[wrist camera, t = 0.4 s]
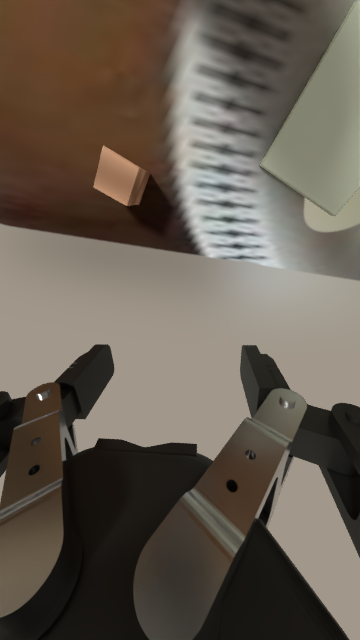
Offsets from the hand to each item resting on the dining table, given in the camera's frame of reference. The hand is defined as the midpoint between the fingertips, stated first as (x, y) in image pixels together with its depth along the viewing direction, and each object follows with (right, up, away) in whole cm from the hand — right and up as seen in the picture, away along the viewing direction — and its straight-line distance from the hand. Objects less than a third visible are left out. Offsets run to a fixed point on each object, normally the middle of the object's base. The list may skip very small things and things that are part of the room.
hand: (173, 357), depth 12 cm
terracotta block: (-6, +21, +15) cm, 26 cm away
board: (+19, +24, +11) cm, 33 cm away
